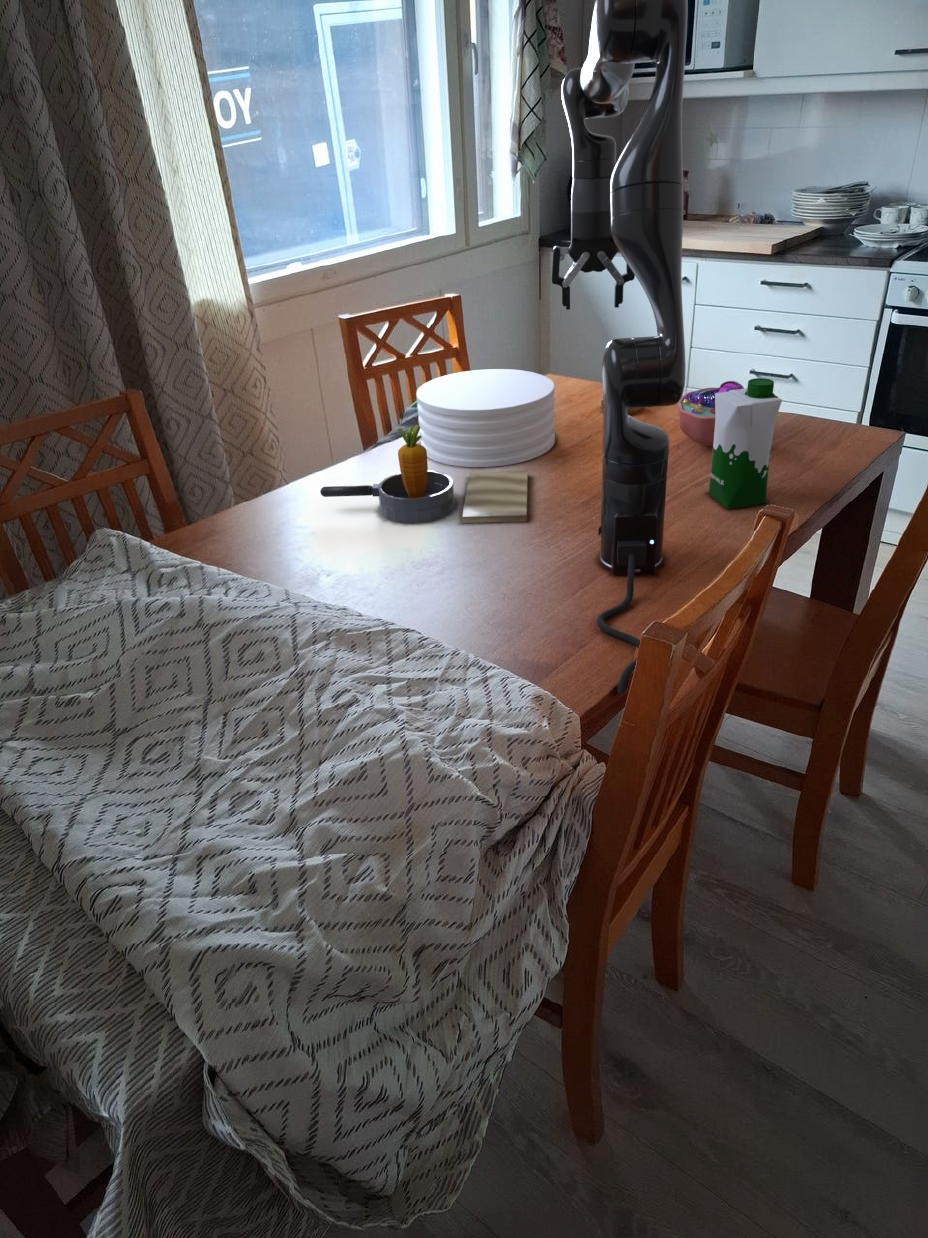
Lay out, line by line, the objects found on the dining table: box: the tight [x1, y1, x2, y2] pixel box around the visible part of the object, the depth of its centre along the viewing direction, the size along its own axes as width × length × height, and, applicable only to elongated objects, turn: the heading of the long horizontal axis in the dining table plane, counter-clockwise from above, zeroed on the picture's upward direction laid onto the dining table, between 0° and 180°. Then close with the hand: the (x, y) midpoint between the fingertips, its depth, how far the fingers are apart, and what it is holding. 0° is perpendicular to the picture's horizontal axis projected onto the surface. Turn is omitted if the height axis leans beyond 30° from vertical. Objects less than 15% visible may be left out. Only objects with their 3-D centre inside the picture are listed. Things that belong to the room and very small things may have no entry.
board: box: [461, 470, 529, 524], centre depth 154 cm, size 20×11×1 cm, turn 176°
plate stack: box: [415, 368, 556, 468], centre depth 177 cm, size 28×28×12 cm
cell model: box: [677, 380, 745, 447], centre depth 168 cm, size 17×20×11 cm
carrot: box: [396, 424, 429, 498], centre depth 149 cm, size 5×5×15 cm
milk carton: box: [708, 377, 783, 510], centre depth 143 cm, size 9×9×20 cm
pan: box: [378, 469, 456, 525], centre depth 152 cm, size 13×13×4 cm
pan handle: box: [320, 483, 379, 498], centre depth 152 cm, size 11×2×2 cm, turn 86°
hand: (592, 307), depth 152 cm, fingers open, 8 cm apart
